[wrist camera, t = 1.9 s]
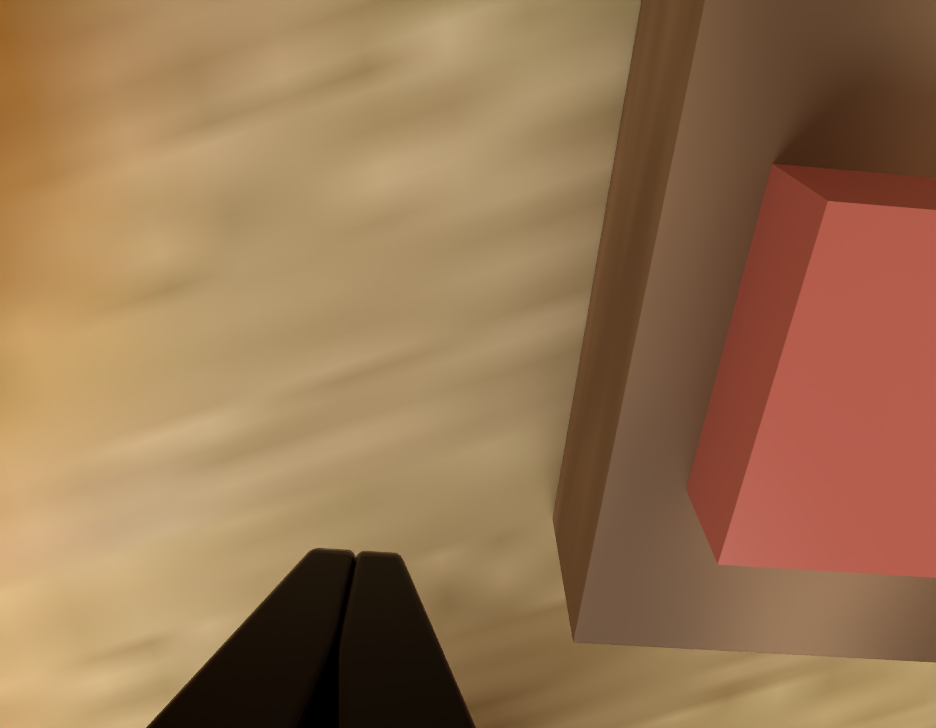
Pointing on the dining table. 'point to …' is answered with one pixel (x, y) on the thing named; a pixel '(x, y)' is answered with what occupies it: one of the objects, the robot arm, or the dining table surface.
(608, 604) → the deck
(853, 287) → the terracotta red slab
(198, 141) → the dining table surface
